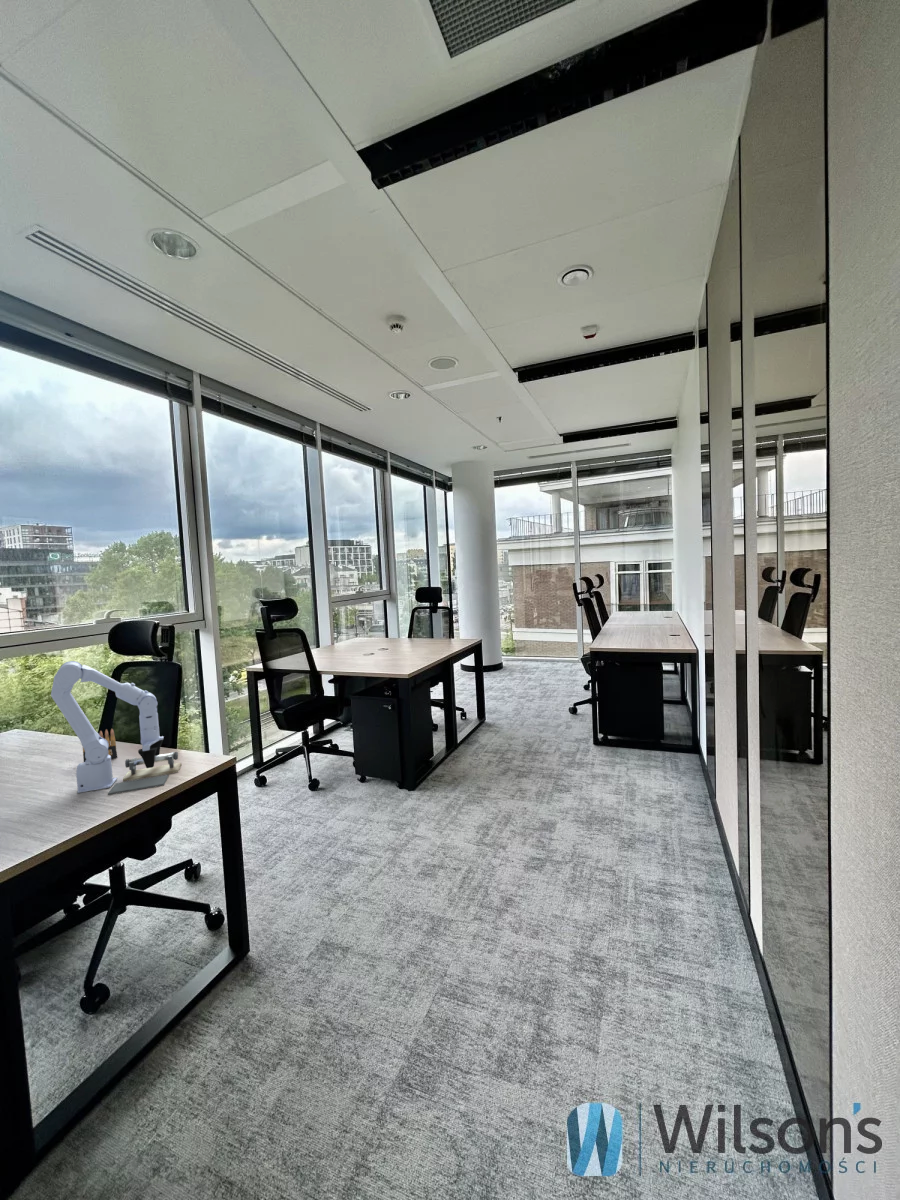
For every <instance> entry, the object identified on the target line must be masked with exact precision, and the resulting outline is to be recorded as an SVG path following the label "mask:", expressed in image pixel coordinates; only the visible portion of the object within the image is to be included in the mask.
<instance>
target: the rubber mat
mask: <svg viewBox="0 0 900 1200" xmlns="http://www.w3.org/2000/svg"><path fill="white" fill-rule="evenodd" d="M168 778H169V774H164V775H158V776H152V777H146V778H140V779H134V780H128V781H122V782H121V781H120V782H116V783H114V785H112V786H111V789H109V792H107V795H108V796H109V795H110V796H111V795H116V793H117V794H122V792H123V793H127V792H132V791H134V792H135V791H140V790H146V789H150V788H156V787H155V786H157V787H162V786H161V785H163V786H164V785H165V784H166V782H167V780H168Z"/></svg>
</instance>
